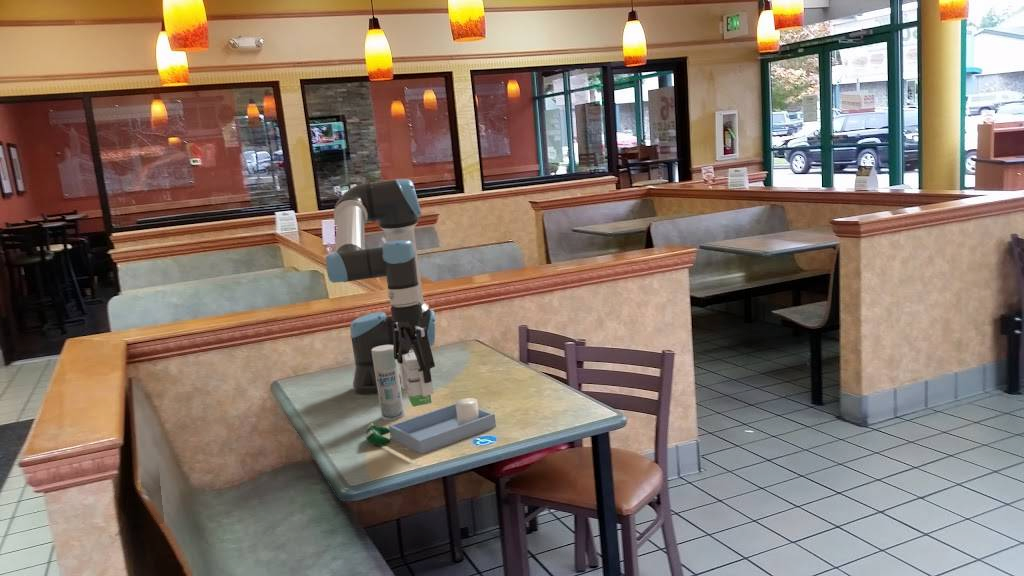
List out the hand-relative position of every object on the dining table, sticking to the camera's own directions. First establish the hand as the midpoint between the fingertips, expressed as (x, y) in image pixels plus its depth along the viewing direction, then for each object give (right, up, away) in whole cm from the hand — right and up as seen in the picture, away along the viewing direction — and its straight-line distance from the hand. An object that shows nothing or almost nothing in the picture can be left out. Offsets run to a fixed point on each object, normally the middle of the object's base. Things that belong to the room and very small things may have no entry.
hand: (417, 390), depth 190 cm
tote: (+6, -12, +5) cm, 14 cm away
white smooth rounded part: (+12, -10, +5) cm, 17 cm away
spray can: (-10, -10, +23) cm, 27 cm away
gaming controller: (-11, -14, +5) cm, 18 cm away
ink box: (0, -3, +1) cm, 3 cm away
